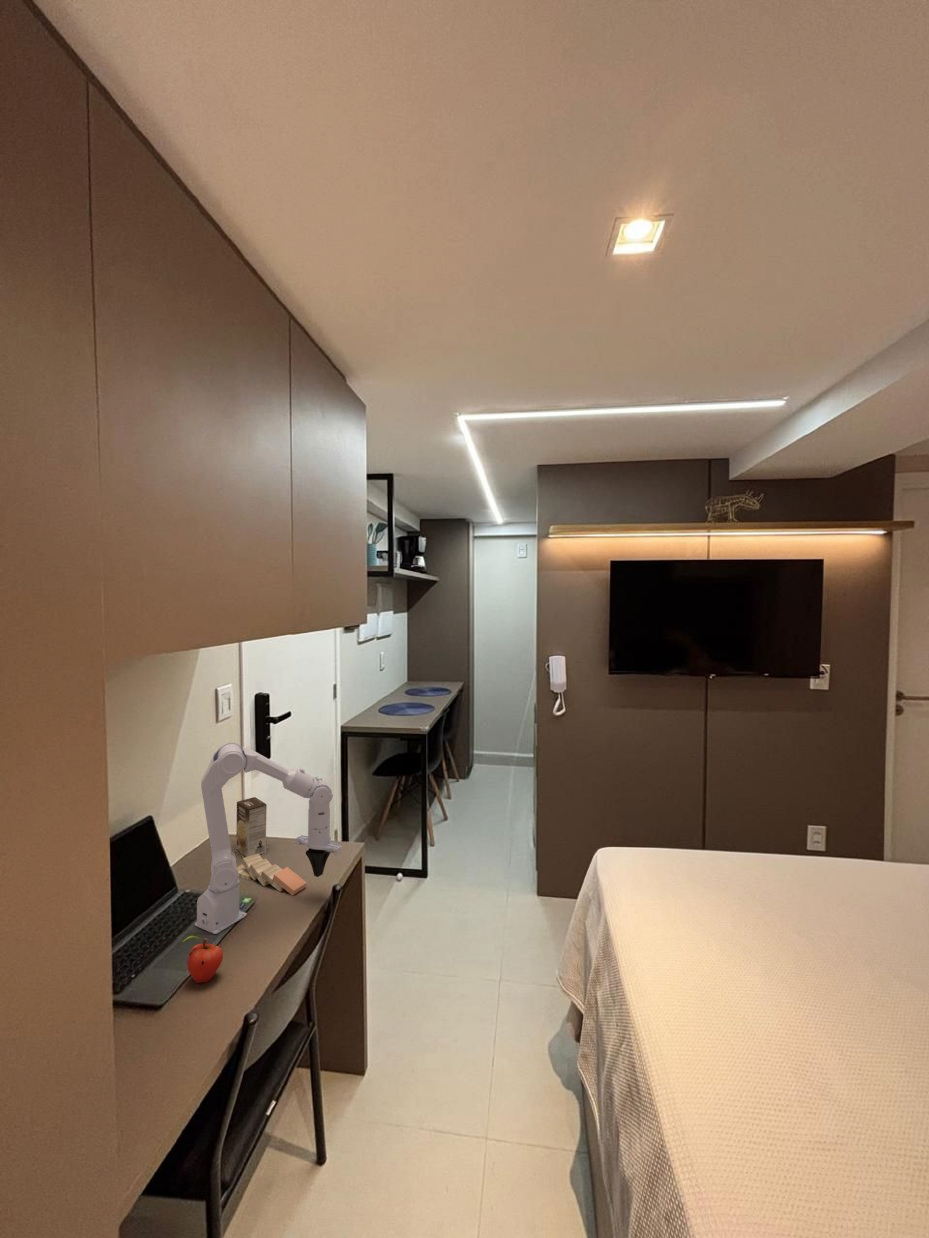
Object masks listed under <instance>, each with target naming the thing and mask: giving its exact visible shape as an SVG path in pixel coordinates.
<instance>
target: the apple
mask: <svg viewBox="0 0 929 1238" xmlns="http://www.w3.org/2000/svg"><path fill="white" fill-rule="evenodd" d="M194 938H195V939H198V940H199V941H201V942H202V943H198V944H195V945H193V947H191V950H190V951H189V954H188V958H187V963H186V965H187V966H186V967H187V971H188V973H189V974H190V976H191V977H192V979H193V981H194V982H195V983H197V984H201V983H207V982H210V980H211V979H212V978H213V976H215V973H216V972H217V971H218V969H219V968H220V967H221V965H222V961H223V957H224V955H223V954H224V953H223V950H222V948H221V946H218V945H216V944H211V943H208V942H207V941H208V938H203V939H202V938H200V937H199V936H195V935H189V936H187V937H186V938H185V939H184V940H182V941H181V943H182V942H185V941H187V940H188V939H189V940H190V939H194Z"/></svg>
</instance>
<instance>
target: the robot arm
mask: <svg viewBox="0 0 929 1238" xmlns="http://www.w3.org/2000/svg"><path fill="white" fill-rule="evenodd" d="M242 771H243V772H244V773H246V774H247V773H250V772H253V771H258V772H260V773H262V774H264V775H267V776H269V777H270V778H273V779H276V780H278V781H280V782H281V783H282V785H283V786H282V787H283V788H284V789H285V790H287V791H290V792H291V793H294V794H295V795H298V796H300V797H302V798H304V799H308V811H307V812H308V813H307V817H308V820H307V821H308V822H307V824H308V825H307V828H308V829H307V835H303V834H301V835H298V836H297V837H296V845H297V846H299V845H303V846H306V847H307V848H308V849H306V851H305V855H306V856H307V858H308V861H309V863H310V865H311V868H312V872H313V876H314V877H316V878H319V877H320V876H322V875H323V874H324V871H325V867H326V863H327V861H328V858H329V856H330V855H331V854H333V855H334V856H336V857H337V856H339V855H341V854H343V846H342V845H340V844H338V843H336V842H335V841H333V840H332V837H331V829H330V828H331V807H330V803H331V801H332V799H333V796H334V794H333V793H332V789H331V788H330V785H328V783H327V782H326V781H325V780H323V778H319V777H318V776H315V777H314V776H312V775H311V774H309V773H306V771H305V769H304V768H302V767H299V768H296V767H293V768H290V769H287V768H286V767H284V766H282V765H280V764H278V763H276V762H275V761H273V760H272V759H269V758H268V757H266V756H264V755H262V754H260V753H259V752H257V751H255V750H252V749H251V748H249V747H245V746H241V744H238V743H237V742H226V743H224V744H222V746H220V747H219V749H217V750H216V751H215V752H214V753H213V755H212V758H211V759H210V761H209V765H208V766H207V768H206V770H205V772H204V774H203V776H202V778H201V781H200V782H201V785H200V787H201V793H202V794H201V795H202V800H203V806H204V807H203V808H204V813H205V820H206V825H207V831H208V833H207V834H208V838H209V845H210V851H211V862H210V867H209V868H210V875H211V877H210V882H209V883H208V887H207V889H206V890H205V891H204V893H202V894H201V895H200V896H198V898H197V902H196V922H194V926H195V927H197V928H200V929H202V930H204V931H207V932H209V933H211V934H213V935H217V934H219V933H220V932H222V931H224V930H225V929H227V928H229V927H230V926H232V925H234V924H235V923H237V922H238V921H240V920H242V919H243V918H245V917H247V915H248V914H247V912H244V911H241V910H240V877H239V873H238V870H237V866H238V864H237V860H238V859H237V856H236V855H235V854H234V853H233V850H232V848H231V841H230V835H229V829H228V822H227V816H226V815H227V814H226V809H225V800H224V796H223V789H222V788H223V787H224V785H226V784H227V782H229V780H230V779H232V778H235V776H238V775H239V774H240V773H241V772H242Z"/></svg>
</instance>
